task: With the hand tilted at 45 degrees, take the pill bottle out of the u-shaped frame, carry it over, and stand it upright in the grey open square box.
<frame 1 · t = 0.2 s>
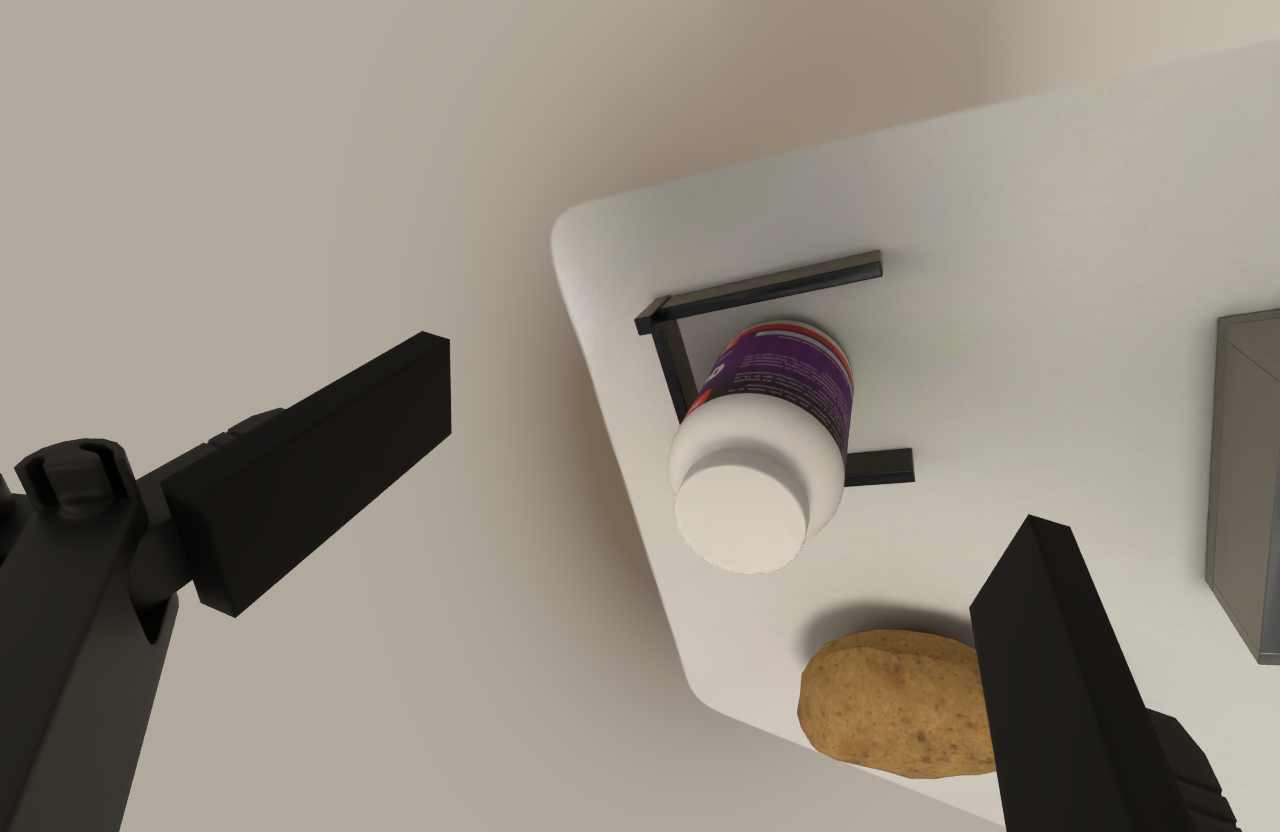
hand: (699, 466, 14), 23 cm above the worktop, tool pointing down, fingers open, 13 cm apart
u-shaped frame: (784, 378, 37), on the worktop
pill bottle: (784, 377, 37), on the worktop
potato: (906, 649, 44), on the worktop
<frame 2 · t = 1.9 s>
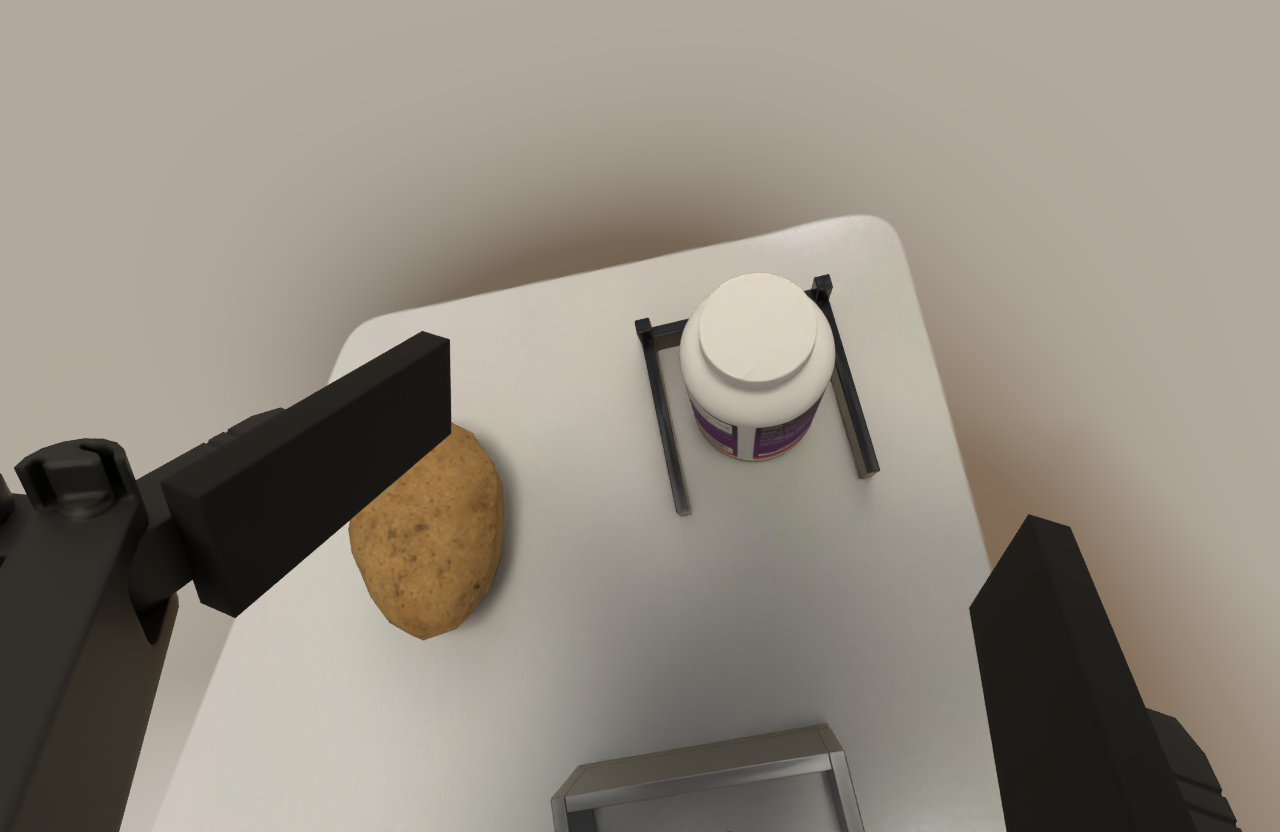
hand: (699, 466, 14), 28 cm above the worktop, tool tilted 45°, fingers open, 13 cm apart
u-shaped frame: (752, 406, 43), on the worktop
pill bottle: (752, 407, 43), on the worktop
potato: (458, 528, 44), on the worktop
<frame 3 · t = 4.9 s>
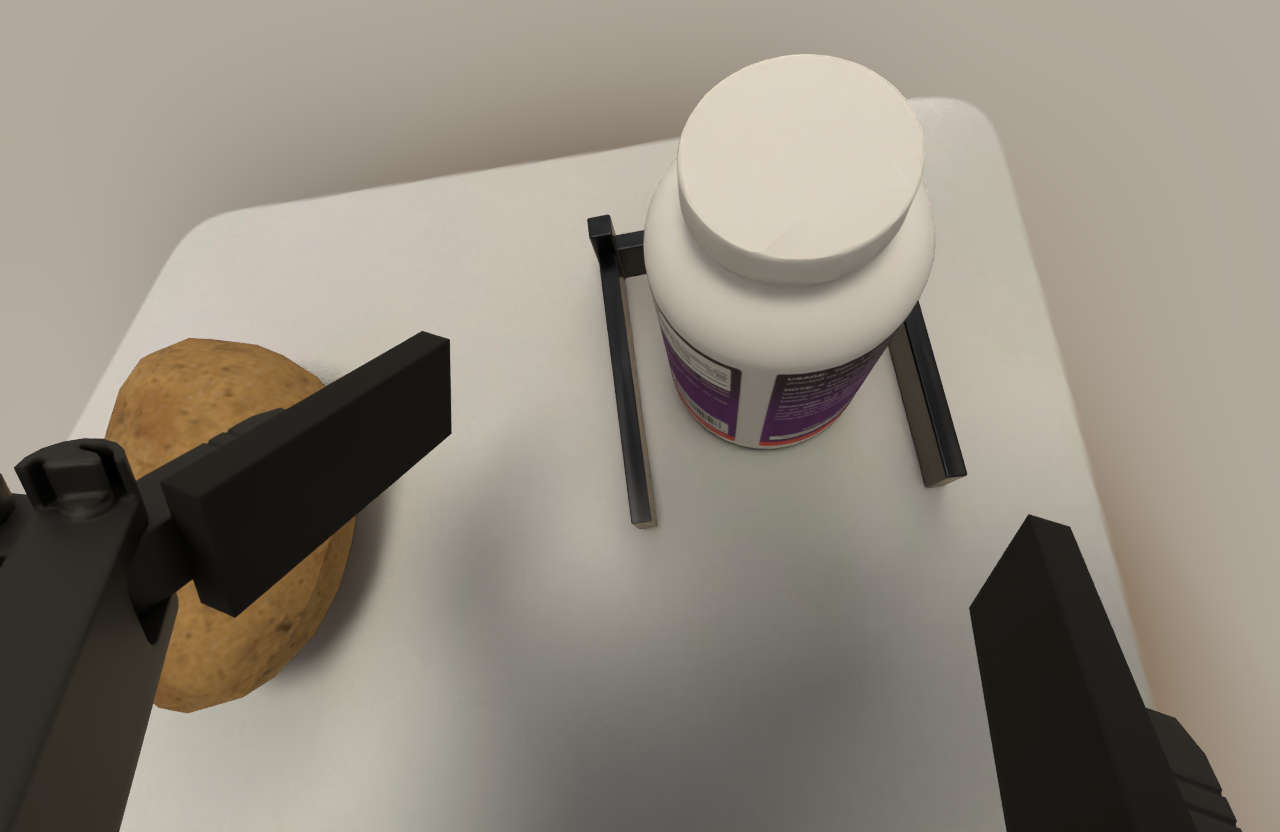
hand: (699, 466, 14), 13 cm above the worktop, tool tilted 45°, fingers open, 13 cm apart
u-shaped frame: (761, 366, 28), on the worktop
pill bottle: (761, 368, 28), on the worktop
potato: (303, 525, 29), on the worktop
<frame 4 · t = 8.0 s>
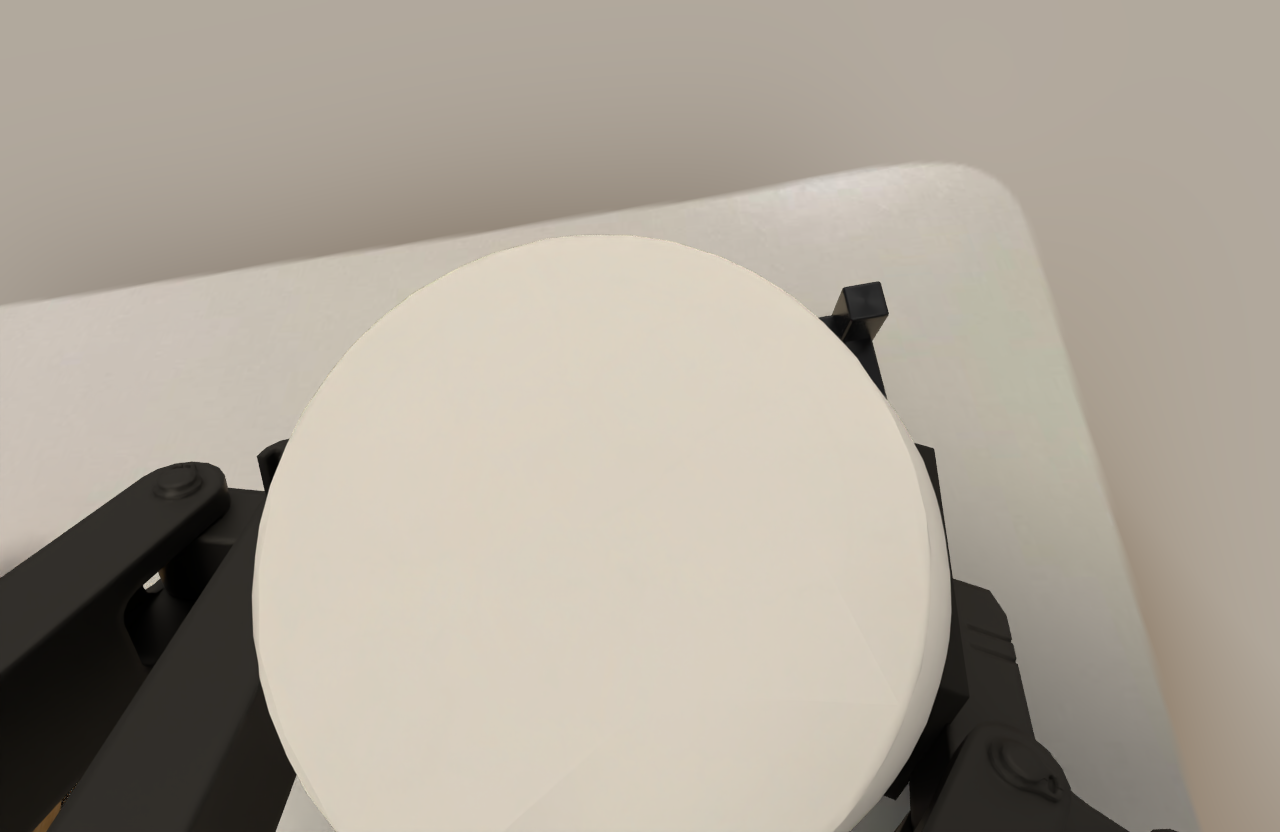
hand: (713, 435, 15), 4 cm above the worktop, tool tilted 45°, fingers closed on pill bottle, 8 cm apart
u-shaped frame: (681, 571, 19), on the worktop
pill bottle: (681, 572, 19), on the worktop, touching gripper
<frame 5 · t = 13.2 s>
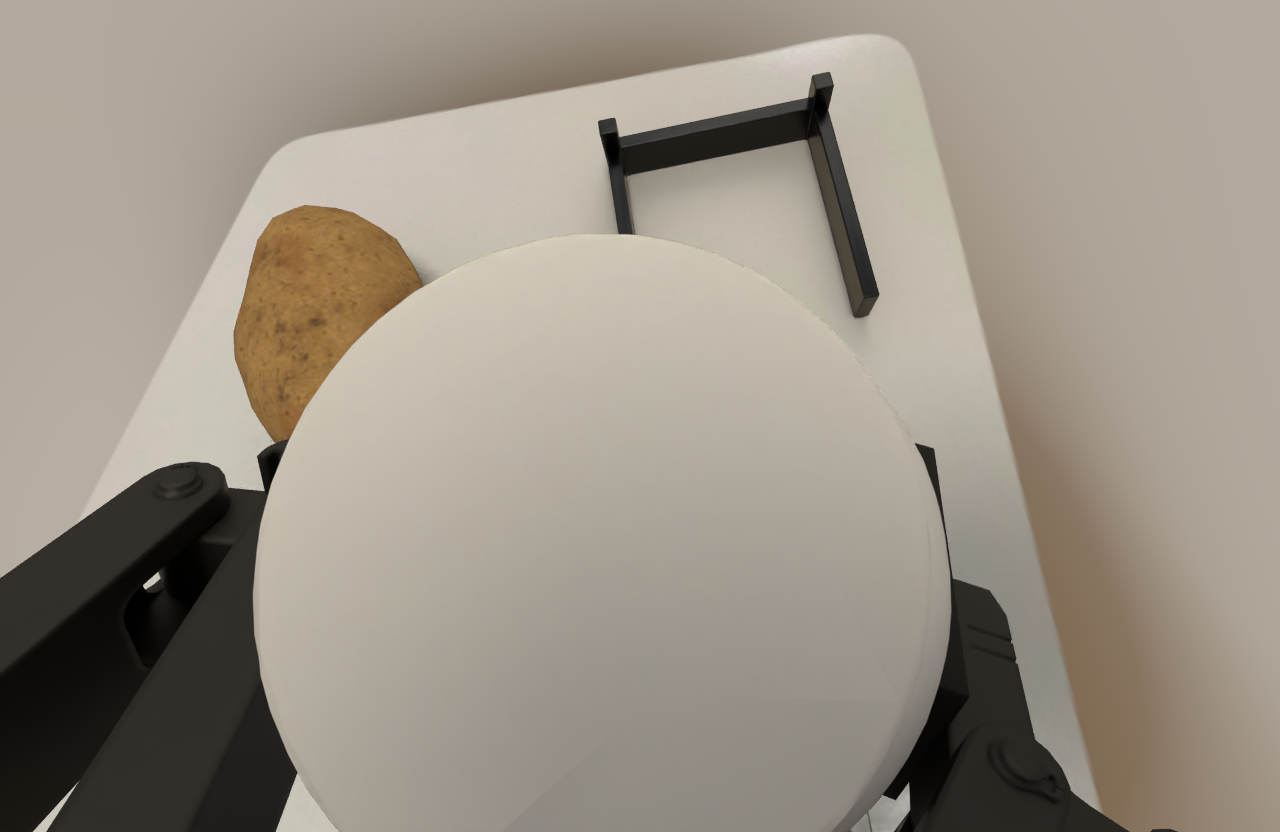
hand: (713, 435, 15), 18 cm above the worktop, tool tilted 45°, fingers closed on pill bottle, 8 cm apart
u-shaped frame: (732, 236, 36), on the worktop
pill bottle: (681, 571, 19), point 13 cm above the worktop, touching gripper
potato: (380, 366, 37), on the worktop
when the fingers open (5 cm above the worktop, at t = 18.2 s): pill bottle stays where it is, resting on grey open square box.
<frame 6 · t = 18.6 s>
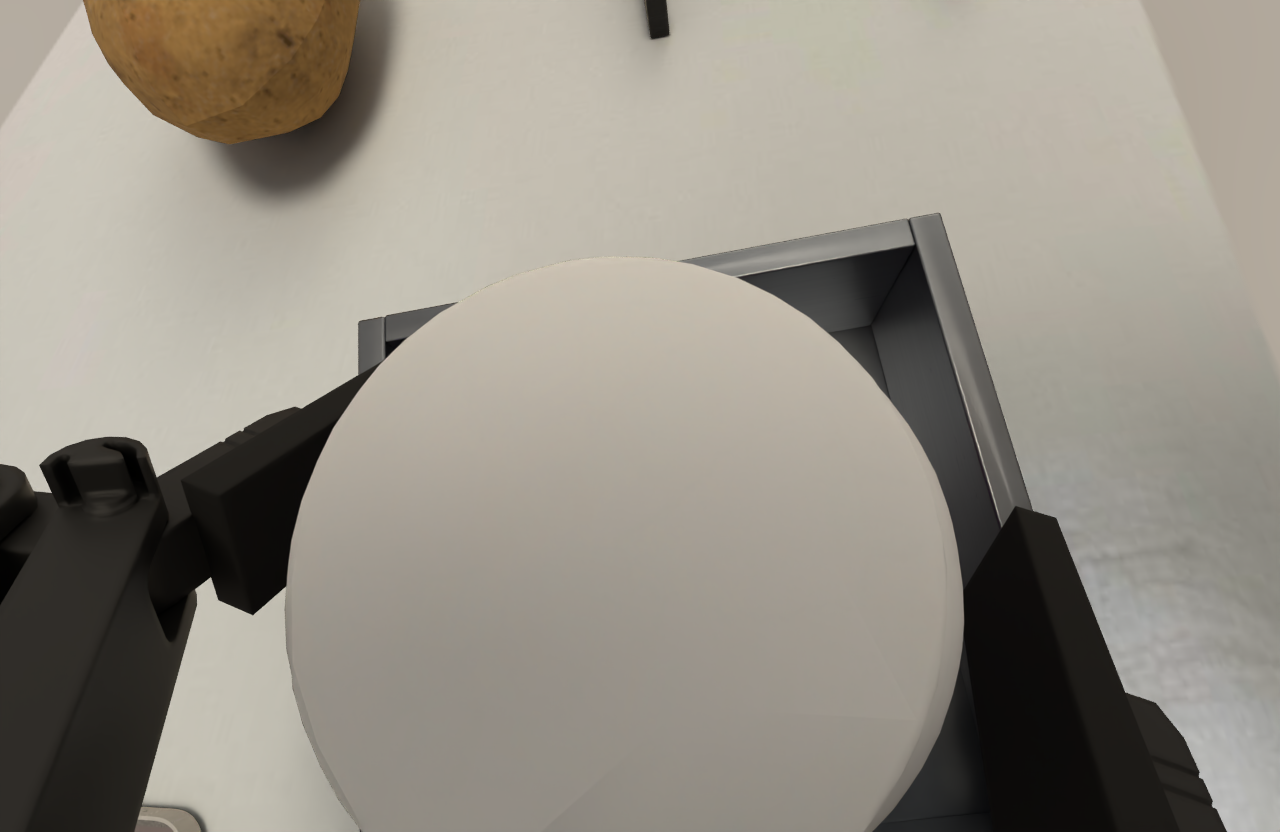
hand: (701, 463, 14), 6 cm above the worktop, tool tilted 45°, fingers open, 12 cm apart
pill bottle: (691, 576, 19), point 1 cm above the worktop, touching grey open square box
potato: (304, 76, 28), on the worktop
grey open square box: (693, 575, 20), on the worktop
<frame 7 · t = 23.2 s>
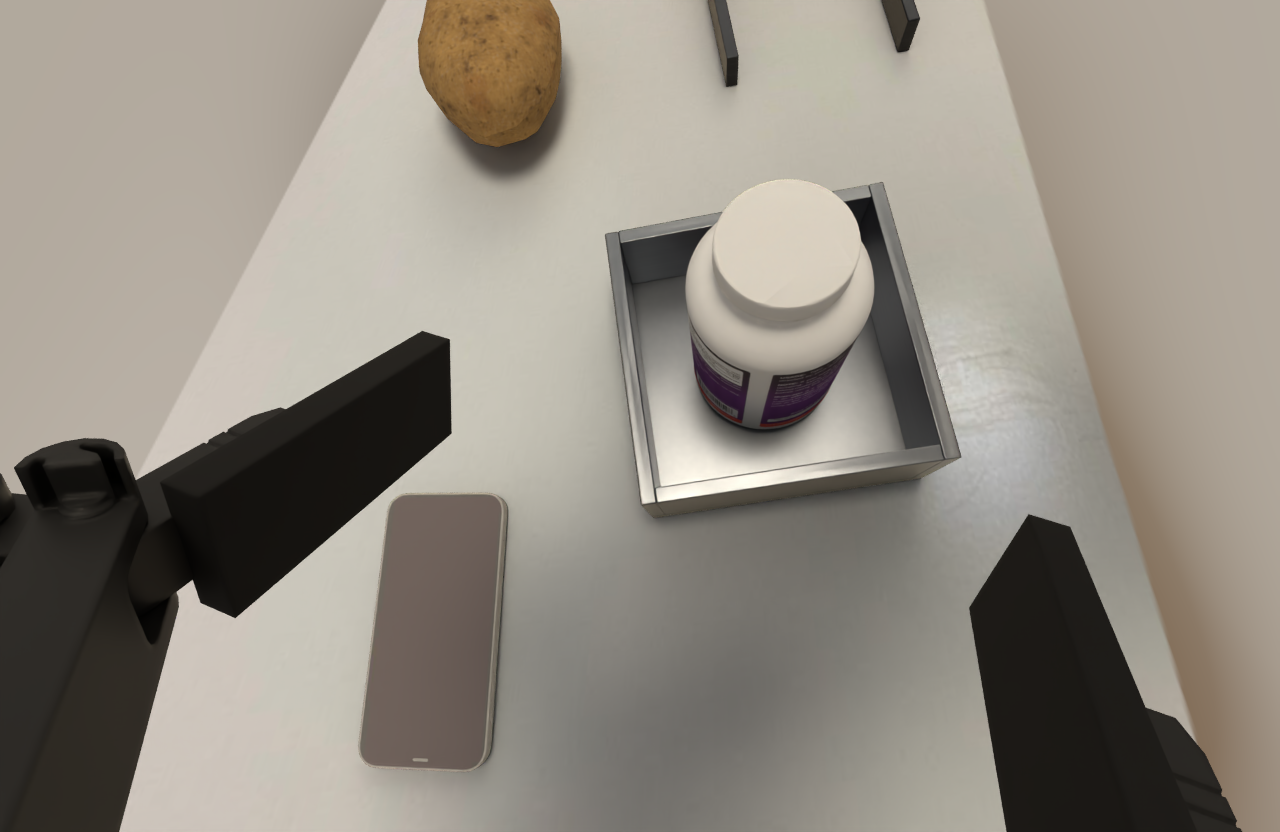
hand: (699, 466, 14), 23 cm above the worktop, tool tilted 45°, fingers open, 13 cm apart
smartphone: (441, 622, 36), on the worktop
pill bottle: (760, 369, 37), point 1 cm above the worktop, touching grey open square box
potato: (512, 105, 46), on the worktop
grey open square box: (760, 373, 38), on the worktop
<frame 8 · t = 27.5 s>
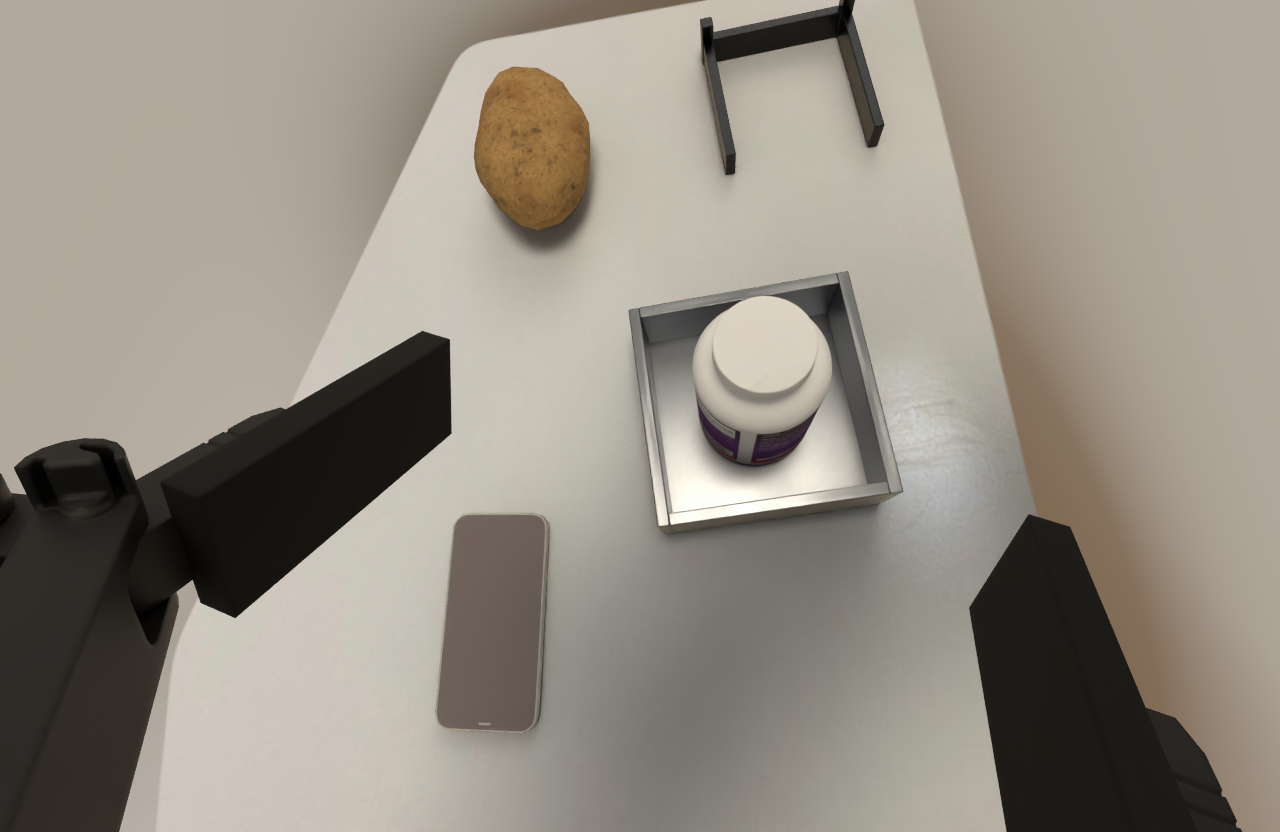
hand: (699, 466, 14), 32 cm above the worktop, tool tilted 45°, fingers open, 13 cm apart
smartphone: (497, 616, 46), on the worktop
u-shaped frame: (786, 100, 54), on the worktop
pill bottle: (752, 415, 46), point 1 cm above the worktop, touching grey open square box
potato: (547, 187, 55), on the worktop
grey open square box: (752, 417, 47), on the worktop
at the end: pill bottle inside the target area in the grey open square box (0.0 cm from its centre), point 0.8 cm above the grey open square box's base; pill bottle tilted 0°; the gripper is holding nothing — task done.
